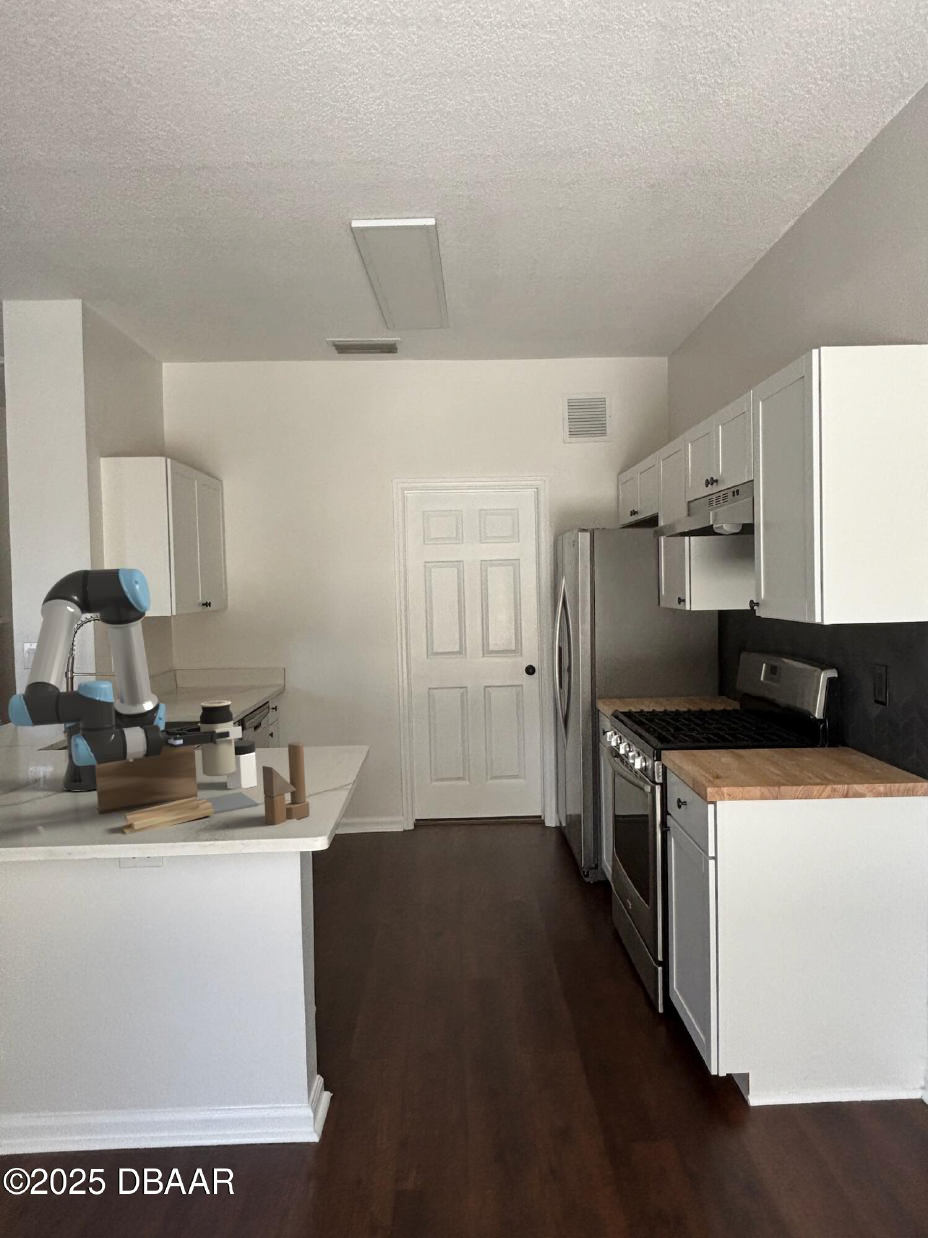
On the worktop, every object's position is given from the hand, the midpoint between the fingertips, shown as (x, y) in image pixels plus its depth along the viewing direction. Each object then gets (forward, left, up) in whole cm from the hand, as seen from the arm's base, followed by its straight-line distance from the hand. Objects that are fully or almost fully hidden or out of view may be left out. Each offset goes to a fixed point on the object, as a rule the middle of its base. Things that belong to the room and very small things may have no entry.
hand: (235, 729), depth 213 cm
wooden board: (-12, -20, -19) cm, 30 cm away
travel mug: (0, -5, -11) cm, 12 cm away
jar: (-17, +6, -19) cm, 27 cm away
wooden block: (+23, +4, -19) cm, 30 cm away
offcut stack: (+8, -20, -18) cm, 28 cm away
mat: (+1, -5, -19) cm, 20 cm away
